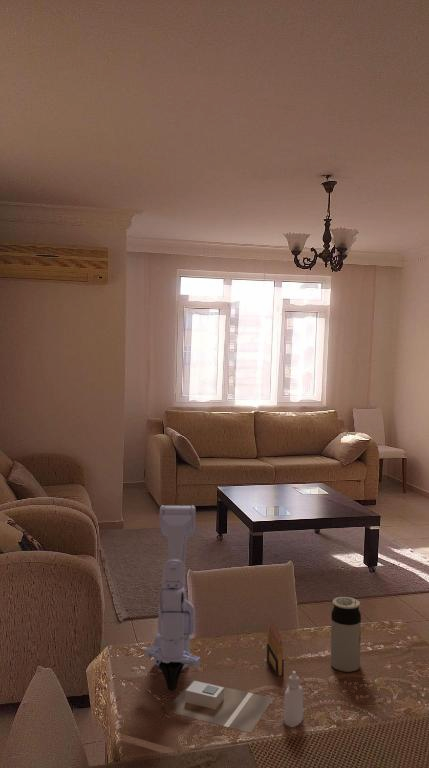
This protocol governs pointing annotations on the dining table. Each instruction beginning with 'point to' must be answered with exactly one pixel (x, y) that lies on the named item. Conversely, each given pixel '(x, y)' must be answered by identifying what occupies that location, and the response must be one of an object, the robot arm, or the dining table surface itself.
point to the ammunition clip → (275, 650)
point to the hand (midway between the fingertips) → (172, 688)
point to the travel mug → (345, 634)
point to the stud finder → (204, 695)
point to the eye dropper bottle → (293, 702)
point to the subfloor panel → (225, 709)
